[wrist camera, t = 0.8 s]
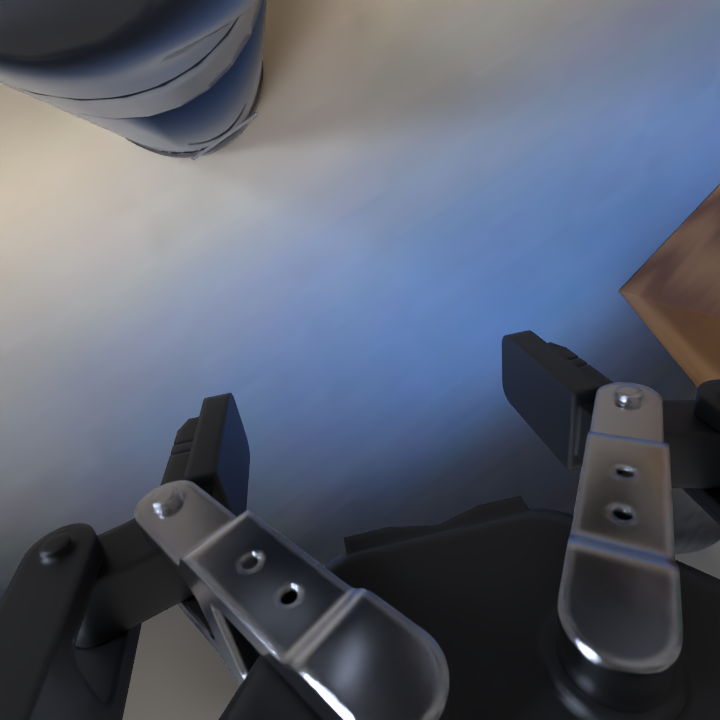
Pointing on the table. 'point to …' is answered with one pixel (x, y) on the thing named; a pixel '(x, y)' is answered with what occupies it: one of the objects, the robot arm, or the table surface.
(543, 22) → the table surface
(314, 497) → the table surface
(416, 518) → the table surface
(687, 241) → the oven stand
